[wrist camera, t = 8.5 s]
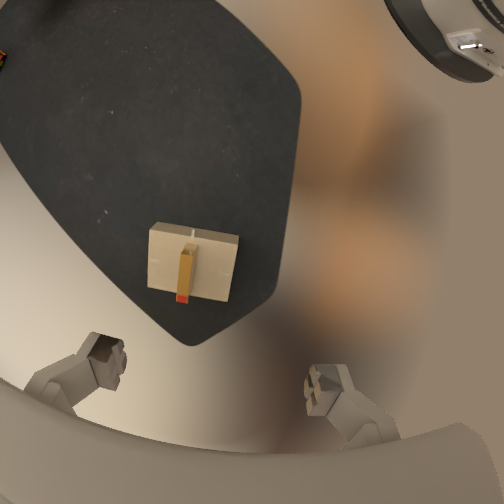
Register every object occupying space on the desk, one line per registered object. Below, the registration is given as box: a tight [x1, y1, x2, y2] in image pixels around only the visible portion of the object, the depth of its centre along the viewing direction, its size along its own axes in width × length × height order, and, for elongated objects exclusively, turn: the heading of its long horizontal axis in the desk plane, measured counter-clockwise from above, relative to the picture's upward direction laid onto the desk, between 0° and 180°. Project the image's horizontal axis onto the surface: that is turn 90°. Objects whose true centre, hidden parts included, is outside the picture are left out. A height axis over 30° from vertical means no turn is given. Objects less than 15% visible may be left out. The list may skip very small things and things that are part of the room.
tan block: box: [148, 222, 239, 302], centre depth 38 cm, size 12×11×4 cm
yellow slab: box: [176, 243, 198, 303], centre depth 35 cm, size 7×2×4 cm, turn 168°
